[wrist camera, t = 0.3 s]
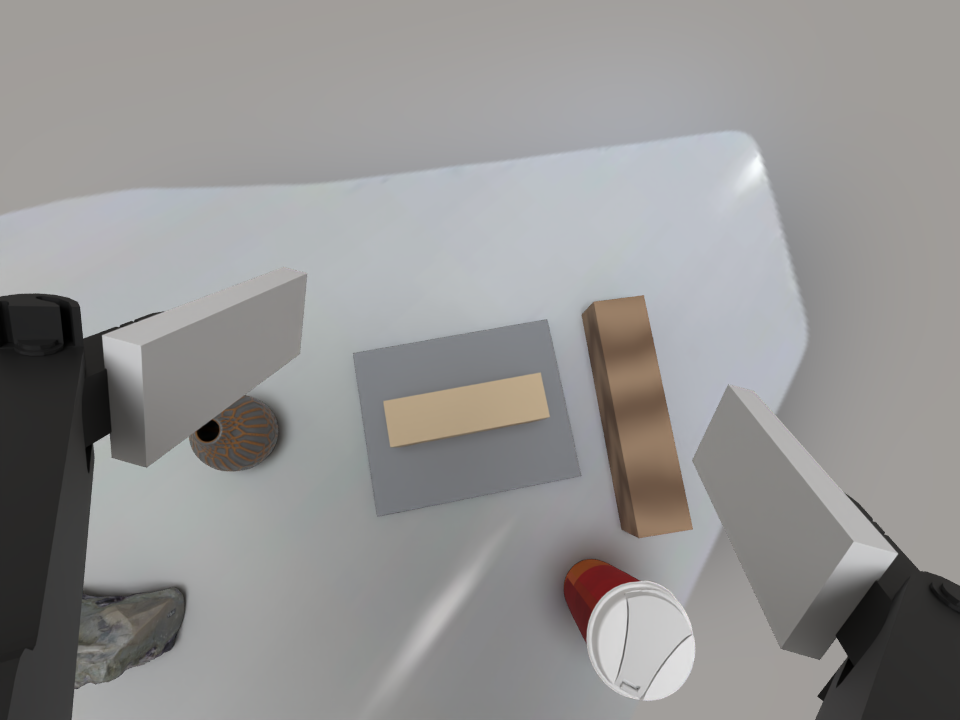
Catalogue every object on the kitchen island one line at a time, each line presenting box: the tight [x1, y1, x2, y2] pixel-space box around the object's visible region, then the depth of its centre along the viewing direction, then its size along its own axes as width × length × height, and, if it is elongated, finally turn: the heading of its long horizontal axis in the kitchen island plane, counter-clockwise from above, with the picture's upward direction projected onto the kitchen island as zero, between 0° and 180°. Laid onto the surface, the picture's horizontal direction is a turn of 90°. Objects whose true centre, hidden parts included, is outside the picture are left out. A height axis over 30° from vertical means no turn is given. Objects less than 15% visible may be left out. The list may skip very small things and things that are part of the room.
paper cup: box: [564, 559, 695, 701], centre depth 41 cm, size 8×8×14 cm
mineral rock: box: [74, 587, 184, 689], centre depth 40 cm, size 13×11×10 cm
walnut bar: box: [582, 295, 693, 538], centre depth 48 cm, size 22×5×5 cm, turn 8°
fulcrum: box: [353, 320, 581, 517], centre depth 46 cm, size 16×20×7 cm
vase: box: [189, 395, 278, 471], centre depth 44 cm, size 7×7×9 cm
